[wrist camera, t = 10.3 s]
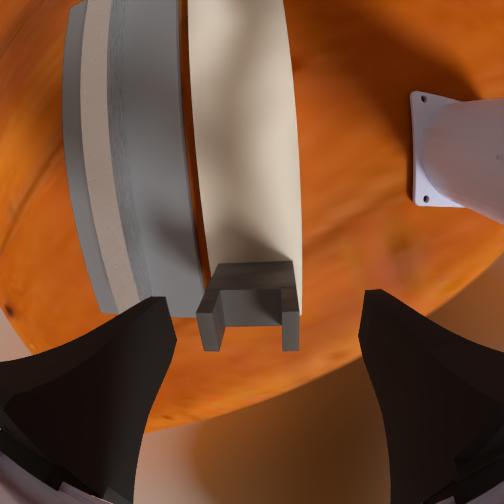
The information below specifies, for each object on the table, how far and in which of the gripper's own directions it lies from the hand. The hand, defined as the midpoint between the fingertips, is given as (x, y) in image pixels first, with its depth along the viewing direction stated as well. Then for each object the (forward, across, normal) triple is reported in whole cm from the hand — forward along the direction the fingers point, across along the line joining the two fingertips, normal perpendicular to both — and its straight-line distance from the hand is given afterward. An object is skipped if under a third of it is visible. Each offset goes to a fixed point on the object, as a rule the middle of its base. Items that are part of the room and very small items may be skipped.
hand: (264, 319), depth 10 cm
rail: (+9, +10, -8) cm, 16 cm away
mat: (+9, +10, -8) cm, 16 cm away
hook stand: (+9, +1, -8) cm, 12 cm away
